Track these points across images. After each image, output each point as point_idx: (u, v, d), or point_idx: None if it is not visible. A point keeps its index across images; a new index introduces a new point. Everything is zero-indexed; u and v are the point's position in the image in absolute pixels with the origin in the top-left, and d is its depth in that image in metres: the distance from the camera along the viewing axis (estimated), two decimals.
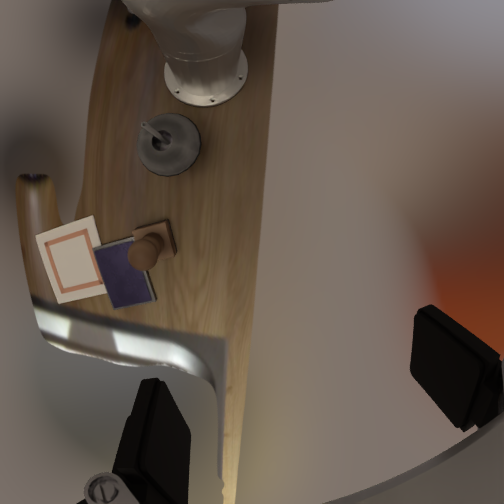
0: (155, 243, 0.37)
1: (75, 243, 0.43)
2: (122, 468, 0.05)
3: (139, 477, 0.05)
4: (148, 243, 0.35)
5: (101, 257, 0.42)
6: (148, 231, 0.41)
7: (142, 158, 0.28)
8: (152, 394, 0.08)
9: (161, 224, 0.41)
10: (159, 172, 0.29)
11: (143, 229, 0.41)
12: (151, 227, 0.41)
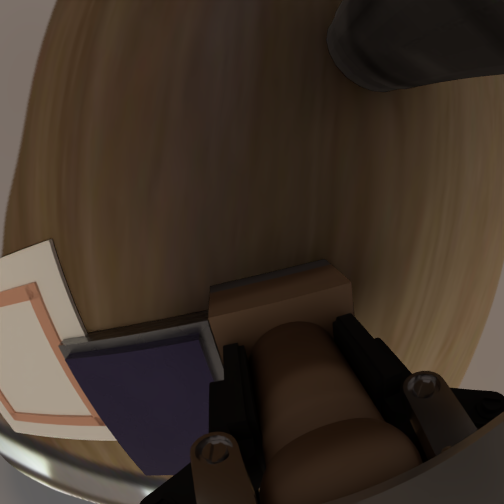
0: (375, 406, 0.07)
1: (13, 321, 0.12)
2: (232, 423, 0.06)
3: (246, 431, 0.07)
4: (411, 457, 0.04)
5: (91, 378, 0.12)
6: (280, 318, 0.10)
7: None
8: (238, 356, 0.09)
9: (337, 290, 0.10)
10: None
11: (260, 311, 0.10)
12: (296, 303, 0.10)
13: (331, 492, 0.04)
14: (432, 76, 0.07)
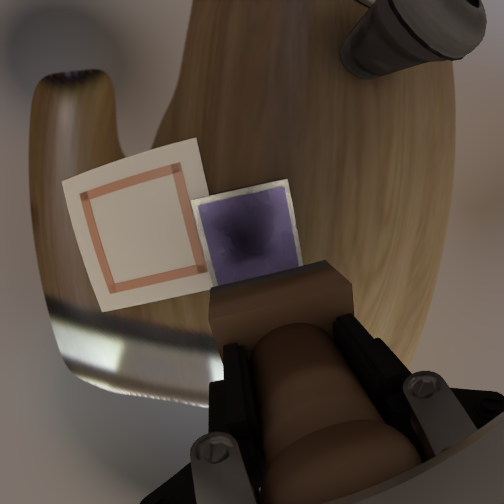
0: (375, 408, 0.07)
1: (150, 192, 0.23)
2: (232, 423, 0.06)
3: (246, 431, 0.07)
4: (410, 460, 0.04)
5: (213, 218, 0.23)
6: (281, 320, 0.10)
7: (428, 4, 0.09)
8: (239, 356, 0.09)
9: (337, 292, 0.10)
10: (447, 40, 0.10)
11: (260, 312, 0.10)
12: (296, 304, 0.10)
13: (331, 494, 0.04)
14: (386, 69, 0.18)
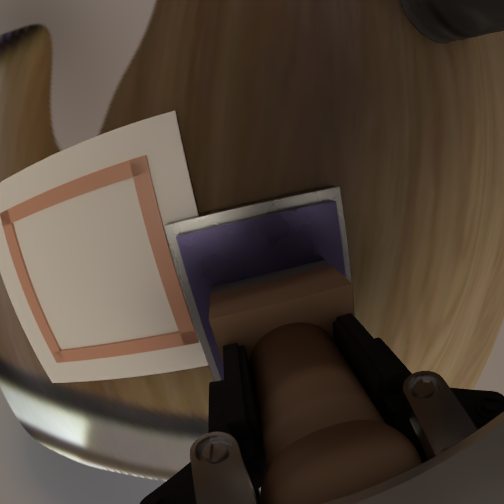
0: None
1: (97, 211, 0.13)
2: (232, 423, 0.06)
3: (246, 431, 0.07)
4: (411, 460, 0.04)
5: (206, 259, 0.13)
6: (281, 320, 0.10)
7: None
8: (239, 356, 0.09)
9: (338, 291, 0.10)
10: None
11: (260, 312, 0.10)
12: (296, 304, 0.10)
13: (332, 494, 0.04)
14: (481, 26, 0.08)
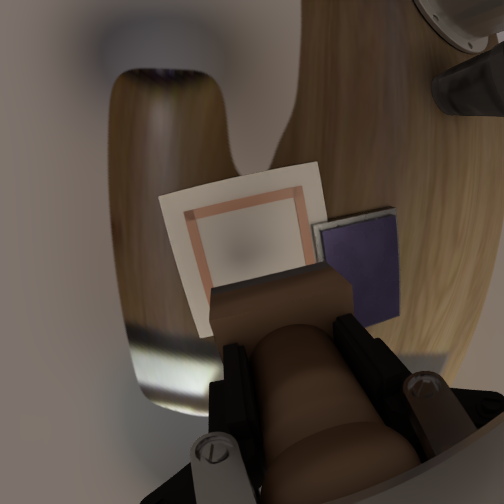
0: (375, 409, 0.07)
1: (268, 215, 0.24)
2: (232, 423, 0.06)
3: (246, 431, 0.07)
4: (410, 461, 0.04)
5: (336, 243, 0.24)
6: (281, 321, 0.10)
7: None
8: (239, 356, 0.09)
9: (338, 293, 0.10)
10: None
11: (261, 314, 0.10)
12: (296, 305, 0.10)
13: (331, 496, 0.04)
14: (476, 114, 0.19)
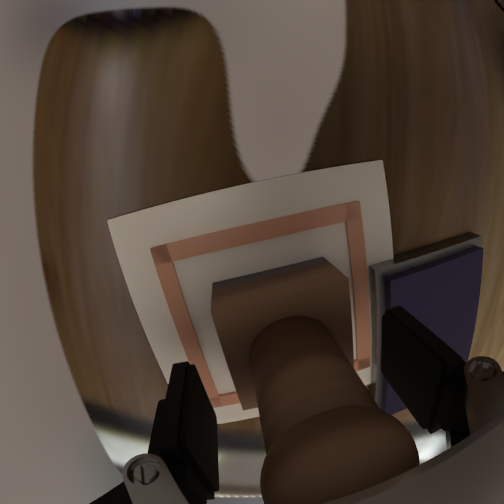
0: (371, 396, 0.07)
1: (301, 253, 0.13)
2: (163, 447, 0.06)
3: (179, 456, 0.06)
4: (405, 443, 0.05)
5: (407, 298, 0.13)
6: (280, 313, 0.11)
7: None
8: (185, 376, 0.09)
9: (335, 286, 0.11)
10: None
11: (260, 305, 0.11)
12: (295, 298, 0.11)
13: (329, 474, 0.04)
14: None
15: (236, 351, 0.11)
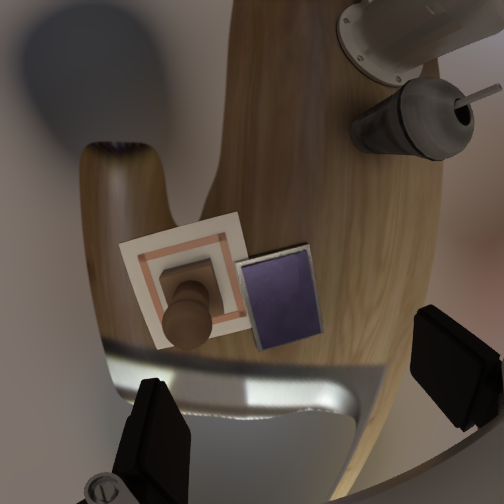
0: (203, 303, 0.24)
1: (200, 256, 0.31)
2: (122, 468, 0.05)
3: (139, 477, 0.05)
4: (197, 307, 0.22)
5: (254, 277, 0.30)
6: (184, 279, 0.28)
7: (430, 128, 0.17)
8: (152, 394, 0.08)
9: (204, 268, 0.28)
10: (439, 153, 0.18)
11: (176, 276, 0.28)
12: (189, 273, 0.28)
13: (173, 309, 0.21)
14: None
15: (169, 295, 0.28)
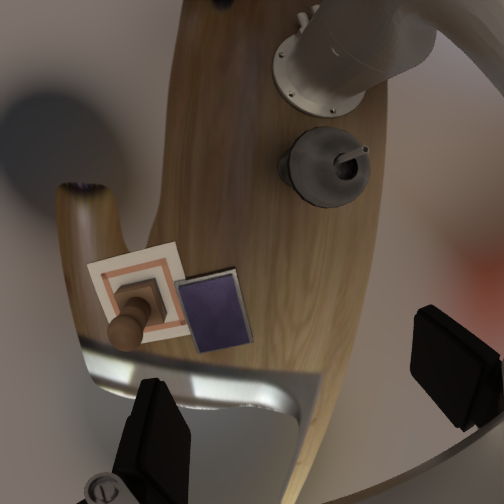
0: (139, 317, 0.30)
1: (147, 276, 0.37)
2: (122, 468, 0.05)
3: (139, 477, 0.05)
4: (130, 322, 0.28)
5: (188, 295, 0.37)
6: (132, 295, 0.34)
7: (309, 185, 0.22)
8: (152, 394, 0.08)
9: (146, 288, 0.34)
10: (325, 204, 0.24)
11: (126, 293, 0.34)
12: (135, 291, 0.34)
13: (113, 322, 0.28)
14: None
15: (122, 307, 0.34)
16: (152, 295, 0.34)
